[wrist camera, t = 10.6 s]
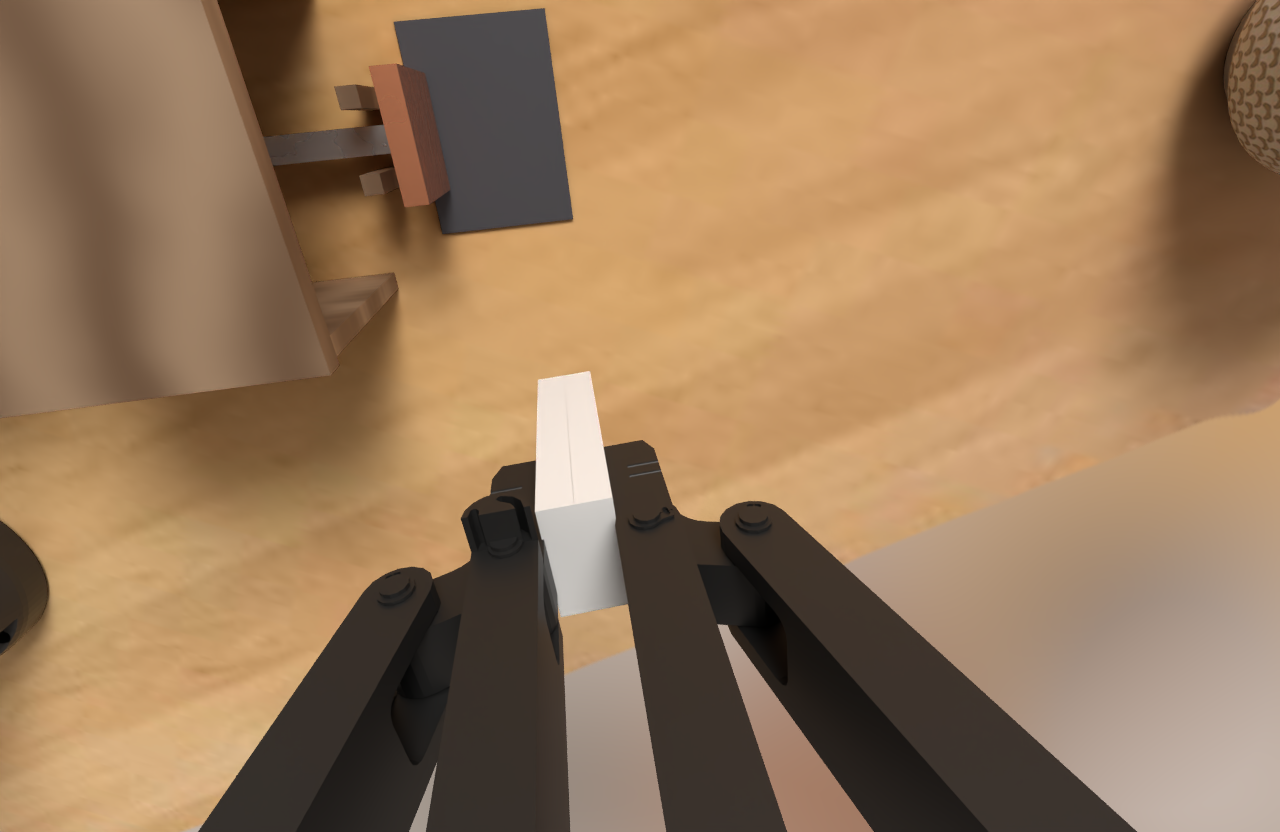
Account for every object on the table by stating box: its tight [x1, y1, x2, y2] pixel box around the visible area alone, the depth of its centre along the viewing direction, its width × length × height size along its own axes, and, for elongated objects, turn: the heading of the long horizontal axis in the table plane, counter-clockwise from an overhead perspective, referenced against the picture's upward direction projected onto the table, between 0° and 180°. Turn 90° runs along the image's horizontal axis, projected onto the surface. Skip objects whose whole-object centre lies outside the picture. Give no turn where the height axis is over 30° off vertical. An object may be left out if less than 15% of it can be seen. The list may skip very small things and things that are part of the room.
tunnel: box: [0, 0, 399, 418], centre depth 28 cm, size 14×17×15 cm
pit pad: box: [394, 8, 573, 234], centre depth 35 cm, size 8×11×1 cm
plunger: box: [263, 64, 450, 207], centre depth 31 cm, size 21×9×7 cm, turn 95°
